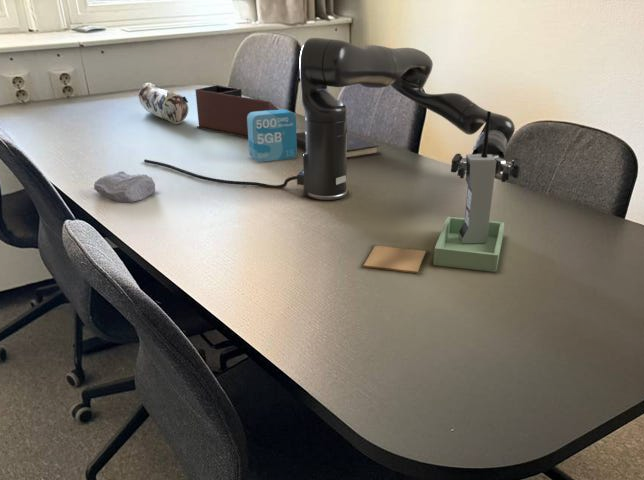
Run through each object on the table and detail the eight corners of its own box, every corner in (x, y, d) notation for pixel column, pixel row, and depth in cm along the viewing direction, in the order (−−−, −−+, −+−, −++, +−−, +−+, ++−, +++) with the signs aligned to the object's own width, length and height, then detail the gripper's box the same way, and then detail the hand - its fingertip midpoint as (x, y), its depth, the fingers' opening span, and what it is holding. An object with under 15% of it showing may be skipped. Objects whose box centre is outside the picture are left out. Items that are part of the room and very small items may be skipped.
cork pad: (363, 267, 129) (363, 265, 129) (375, 247, 138) (375, 245, 137) (417, 273, 127) (417, 271, 127) (426, 252, 136) (426, 250, 136)
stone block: (132, 211, 156) (160, 190, 163) (125, 192, 153) (154, 171, 160) (92, 204, 161) (120, 184, 167) (84, 185, 157) (113, 165, 164)
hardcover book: (333, 135, 211) (333, 127, 210) (378, 153, 195) (378, 145, 194) (286, 142, 203) (286, 134, 202) (329, 161, 188) (329, 153, 186)
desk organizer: (220, 122, 223) (216, 84, 217) (293, 136, 210) (292, 96, 204) (196, 128, 215) (192, 89, 210) (271, 143, 202) (269, 102, 196)
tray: (433, 264, 131) (434, 248, 129) (446, 231, 146) (447, 216, 144) (496, 272, 129) (498, 255, 127) (502, 237, 144) (504, 222, 142)
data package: (255, 162, 185) (252, 115, 179) (249, 158, 188) (246, 112, 182) (297, 158, 190) (296, 111, 184) (291, 153, 193) (289, 108, 187)
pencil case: (192, 122, 221) (188, 89, 216) (166, 126, 217) (162, 92, 212) (163, 109, 236) (159, 78, 231) (138, 112, 232) (134, 81, 226)
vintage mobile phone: (458, 237, 142) (470, 108, 129) (482, 237, 143) (497, 108, 130) (461, 244, 139) (474, 113, 126) (486, 244, 139) (502, 113, 126)
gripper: (519, 174, 158) (515, 196, 145) (456, 168, 161) (446, 190, 147) (523, 140, 154) (520, 160, 141) (459, 135, 157) (449, 154, 143)
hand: (482, 175), depth 144 cm, fingers open, 8 cm apart
